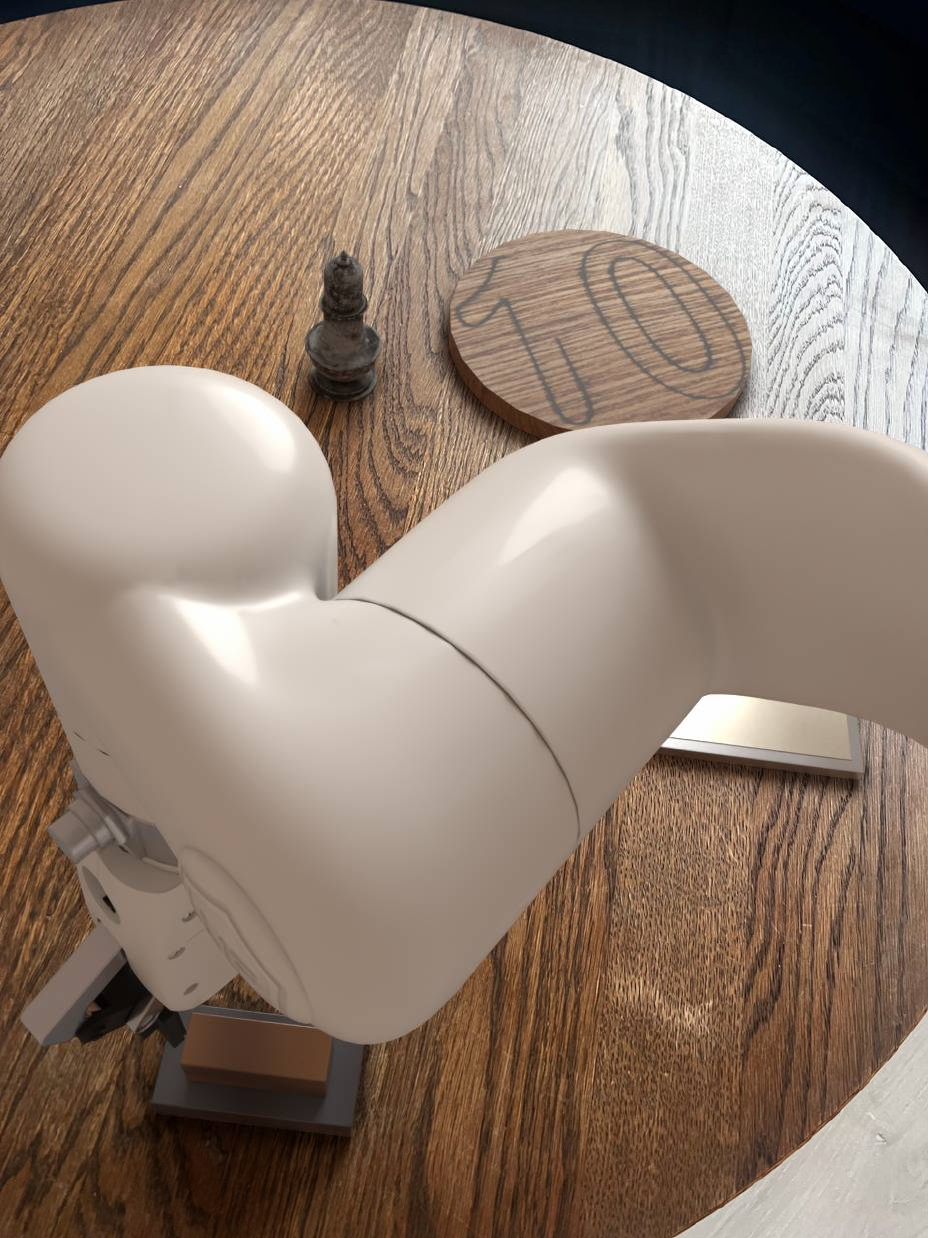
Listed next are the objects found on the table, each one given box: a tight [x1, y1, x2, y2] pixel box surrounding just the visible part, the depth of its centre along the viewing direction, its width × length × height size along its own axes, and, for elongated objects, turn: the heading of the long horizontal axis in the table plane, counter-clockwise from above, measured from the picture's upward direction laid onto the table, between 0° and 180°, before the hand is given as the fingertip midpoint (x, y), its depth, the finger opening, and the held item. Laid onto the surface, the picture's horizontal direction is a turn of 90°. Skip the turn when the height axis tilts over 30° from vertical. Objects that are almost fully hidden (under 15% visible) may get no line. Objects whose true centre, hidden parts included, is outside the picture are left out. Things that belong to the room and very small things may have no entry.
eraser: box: [150, 1004, 366, 1138], centre depth 57 cm, size 10×5×6 cm, turn 84°
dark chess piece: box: [304, 250, 383, 403], centre depth 84 cm, size 6×6×12 cm
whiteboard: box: [654, 695, 865, 781], centre depth 78 cm, size 20×16×1 cm
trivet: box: [447, 228, 753, 440], centre depth 93 cm, size 25×25×2 cm
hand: (249, 932), depth 48 cm, fingers open, 9 cm apart
